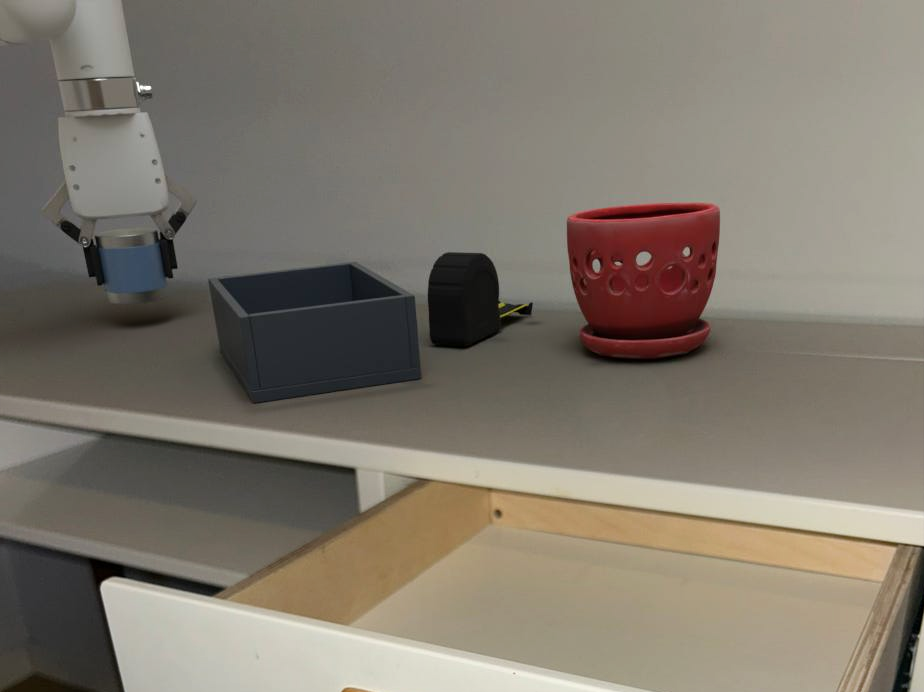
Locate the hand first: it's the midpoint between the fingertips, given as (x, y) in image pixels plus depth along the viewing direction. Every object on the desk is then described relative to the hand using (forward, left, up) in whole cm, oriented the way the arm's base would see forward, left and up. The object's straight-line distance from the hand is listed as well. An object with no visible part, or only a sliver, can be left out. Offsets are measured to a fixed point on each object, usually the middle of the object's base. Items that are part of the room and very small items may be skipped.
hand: (134, 278), depth 118 cm
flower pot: (+41, -41, -5) cm, 58 cm away
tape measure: (+31, -26, -5) cm, 41 cm away
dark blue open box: (+13, -30, -5) cm, 33 cm away
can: (0, 0, -2) cm, 2 cm away
